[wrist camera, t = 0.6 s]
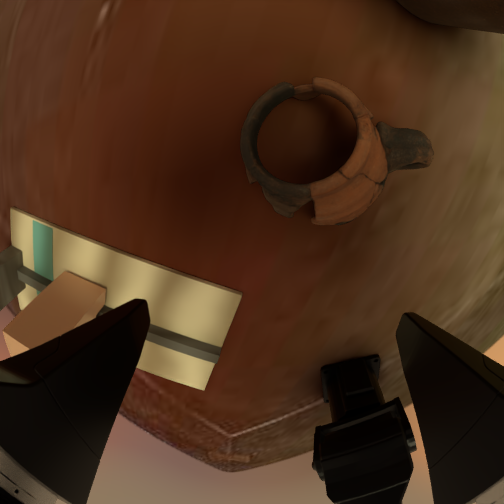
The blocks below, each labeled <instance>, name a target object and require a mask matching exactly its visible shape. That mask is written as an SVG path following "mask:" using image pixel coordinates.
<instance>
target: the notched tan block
mask: <svg viewBox="0 0 504 504" xmlns="http://www.w3.org/2000/svg"><path fill="white" fill-rule="evenodd" d="M105 295H106V289H105V288H102V287H100V286H98V285H95V284H93V283H91V282H88V281H86V280H84V279H82V278H79V277H77V276H75V275H73V274H71V273H68V272H66V271H64V272H63V273H62V274H61V275H59V276H58V277H57V278H56V279H55V280H54V281H53V282H52V283H51V284H49V285H48V286H47V287H46V288H45V289H44V290H43V291H42V292H41V293H40V294H39V295H38V296H36V297H35V298H34V299H33V300H32V301H31V302H30V303H29V304H28V305H27V306H26V307H25V308H24V309H23V310H22V311H21V312H20V313H19V314H18V315H17V316H16V317H15V318H14V319H13V320H12V321H11V322H10V323H9V324H8V325H7V326H6V327H5V328H4V330H3V334H4V337H5V340H6V344H7V347H8V349H9V352H10V355H11V357H12V356H15V355H17V354H20V353H22V352H25V351H27V350H30V349H32V348H34V347H37V346H39V345H41V344H43V343H45V342H47V341H50V340H52V339H54V338H56V337H58V336H61V335H62V334H64V333H66V332H68V331H70V330H72V329H74V328H76V327H78V326H80V325H82V324H84V323H86V322H88V321H90V320H92V319H94V318H96V315H97V313H98V312H99V311H100V310H101V308H102V307H103V306H104V304H105Z"/></svg>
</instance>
